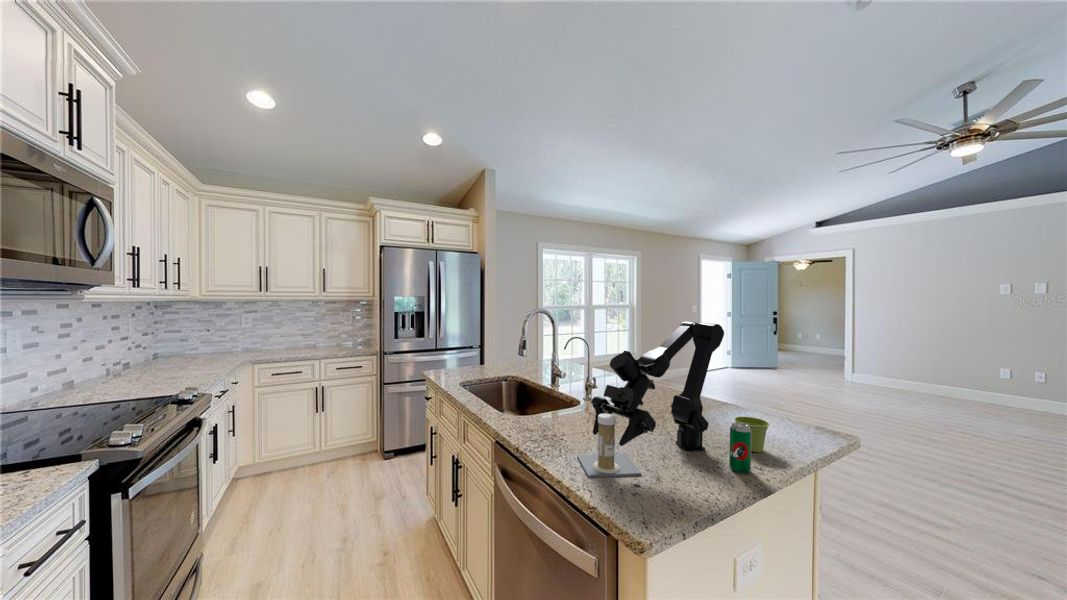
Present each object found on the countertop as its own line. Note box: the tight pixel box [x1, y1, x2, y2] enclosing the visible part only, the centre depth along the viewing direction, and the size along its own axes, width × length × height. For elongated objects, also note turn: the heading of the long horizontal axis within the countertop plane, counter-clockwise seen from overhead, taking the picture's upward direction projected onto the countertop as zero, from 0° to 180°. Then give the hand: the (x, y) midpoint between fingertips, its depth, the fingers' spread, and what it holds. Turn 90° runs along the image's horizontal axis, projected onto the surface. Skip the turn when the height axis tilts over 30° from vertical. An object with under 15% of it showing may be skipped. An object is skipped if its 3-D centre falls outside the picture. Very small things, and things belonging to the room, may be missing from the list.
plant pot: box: [733, 416, 770, 453], centre depth 114 cm, size 9×9×9 cm
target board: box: [576, 453, 642, 478], centre depth 100 cm, size 14×12×1 cm
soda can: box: [728, 422, 752, 474], centre depth 99 cm, size 5×5×12 cm
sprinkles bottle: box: [597, 413, 617, 469], centre depth 98 cm, size 5×5×14 cm
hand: (606, 439), depth 98 cm, fingers open, 9 cm apart
